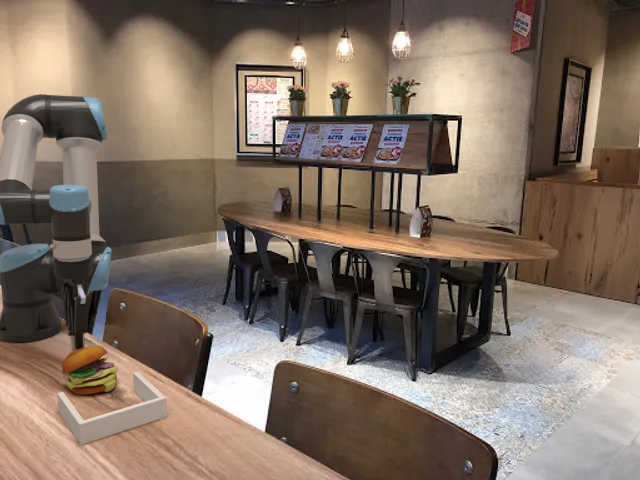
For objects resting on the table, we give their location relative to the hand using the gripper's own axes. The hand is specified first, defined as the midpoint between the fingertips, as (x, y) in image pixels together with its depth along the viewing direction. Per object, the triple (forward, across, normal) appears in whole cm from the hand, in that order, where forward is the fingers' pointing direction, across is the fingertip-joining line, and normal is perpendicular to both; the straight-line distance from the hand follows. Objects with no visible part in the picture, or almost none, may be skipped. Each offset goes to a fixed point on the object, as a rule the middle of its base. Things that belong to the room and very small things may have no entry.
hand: (78, 360), depth 119 cm
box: (+4, +20, 0) cm, 21 cm away
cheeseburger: (+4, +7, 0) cm, 8 cm away
